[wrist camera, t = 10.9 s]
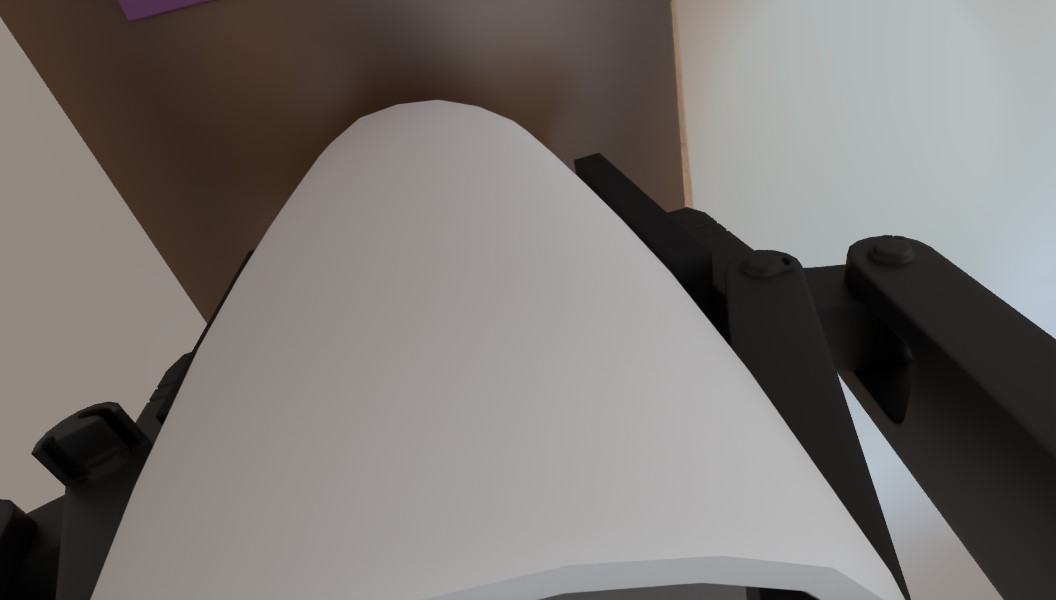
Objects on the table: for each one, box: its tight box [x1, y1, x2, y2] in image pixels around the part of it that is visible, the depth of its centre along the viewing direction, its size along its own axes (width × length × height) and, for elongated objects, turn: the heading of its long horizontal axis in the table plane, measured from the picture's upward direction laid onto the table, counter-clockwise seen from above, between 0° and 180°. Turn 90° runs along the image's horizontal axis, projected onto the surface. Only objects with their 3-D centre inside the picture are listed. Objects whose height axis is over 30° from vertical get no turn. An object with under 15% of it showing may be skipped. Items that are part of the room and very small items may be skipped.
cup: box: [90, 100, 905, 600], centre depth 11 cm, size 8×8×14 cm
